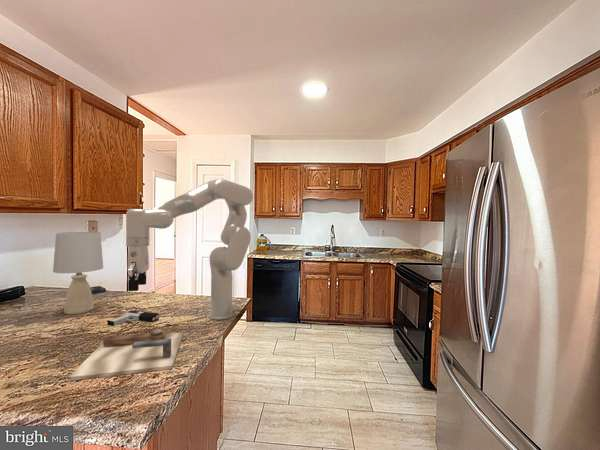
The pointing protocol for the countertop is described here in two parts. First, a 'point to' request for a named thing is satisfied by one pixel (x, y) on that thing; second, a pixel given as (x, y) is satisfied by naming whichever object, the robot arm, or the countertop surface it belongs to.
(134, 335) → the walnut link
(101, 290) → the disk drive
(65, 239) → the lamp
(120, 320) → the toy gun
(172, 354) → the hinge board
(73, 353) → the countertop surface
